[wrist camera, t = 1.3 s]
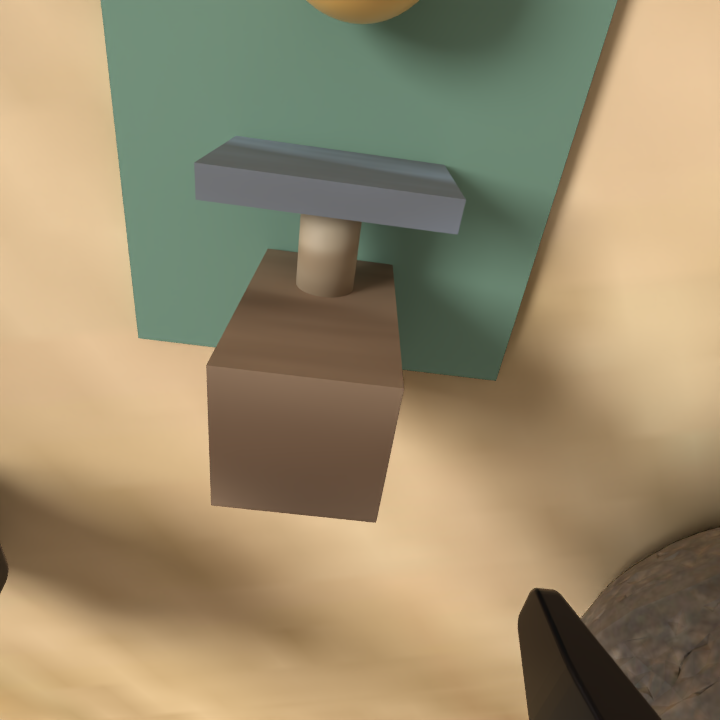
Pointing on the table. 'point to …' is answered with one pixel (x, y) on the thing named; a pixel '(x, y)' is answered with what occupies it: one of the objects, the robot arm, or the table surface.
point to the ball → (362, 9)
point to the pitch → (349, 149)
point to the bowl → (667, 627)
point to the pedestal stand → (314, 328)
